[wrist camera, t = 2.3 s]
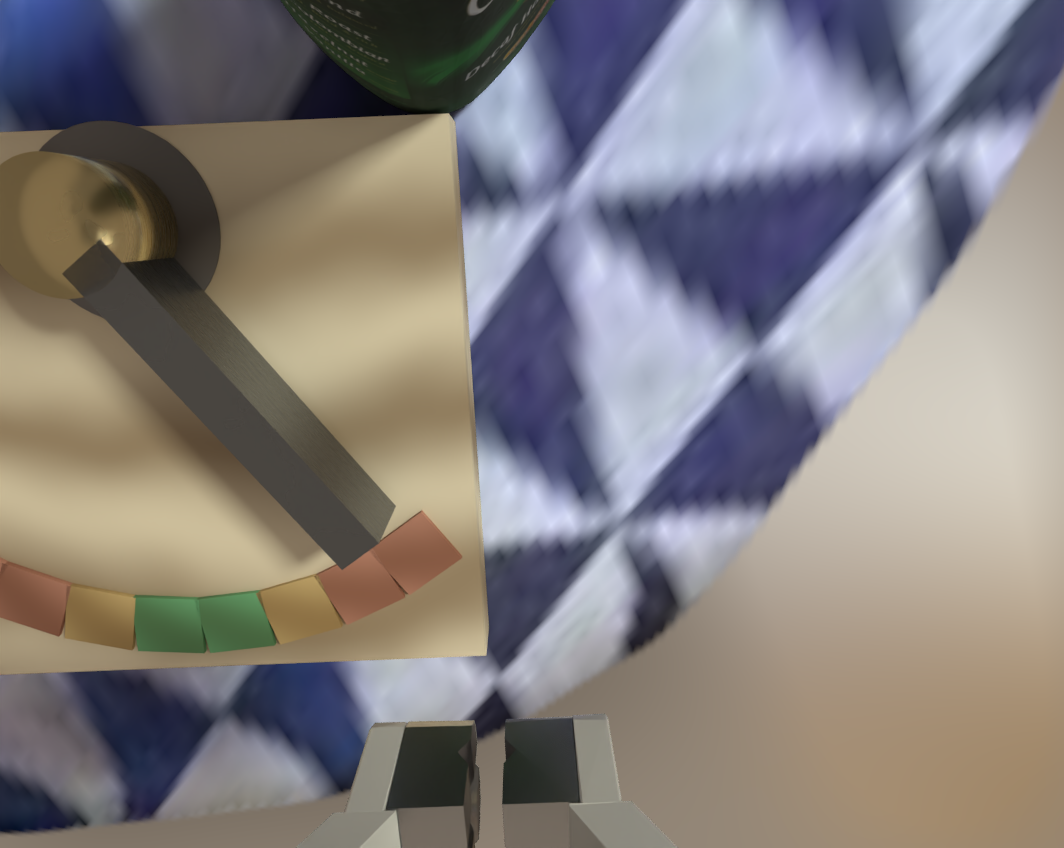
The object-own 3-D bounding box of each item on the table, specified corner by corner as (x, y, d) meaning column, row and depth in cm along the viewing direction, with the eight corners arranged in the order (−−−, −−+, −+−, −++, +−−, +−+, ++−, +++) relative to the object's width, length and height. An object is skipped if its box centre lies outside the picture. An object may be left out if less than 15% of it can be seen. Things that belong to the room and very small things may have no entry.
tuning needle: (26, 214, 22) (-50, 213, 19) (112, 133, 21) (46, 119, 18) (339, 548, 25) (314, 590, 22) (421, 487, 25) (407, 522, 22)
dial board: (-182, 142, 23) (-253, 134, 21) (454, 115, 23) (447, 105, 21) (-22, 647, 29) (-64, 680, 27) (488, 626, 29) (485, 658, 27)
